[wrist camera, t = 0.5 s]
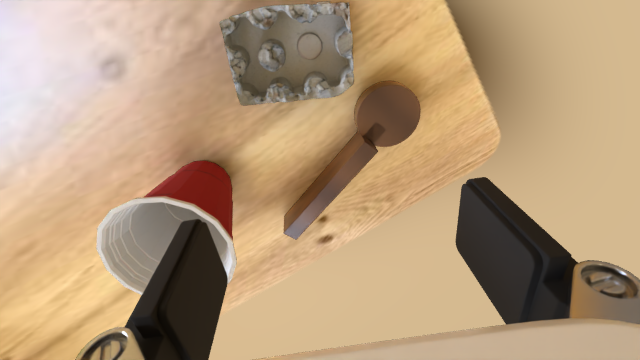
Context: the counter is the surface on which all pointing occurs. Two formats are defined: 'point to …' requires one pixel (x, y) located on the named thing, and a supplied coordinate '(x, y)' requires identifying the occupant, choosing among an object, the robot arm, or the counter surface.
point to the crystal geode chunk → (290, 52)
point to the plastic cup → (167, 223)
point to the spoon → (358, 148)
